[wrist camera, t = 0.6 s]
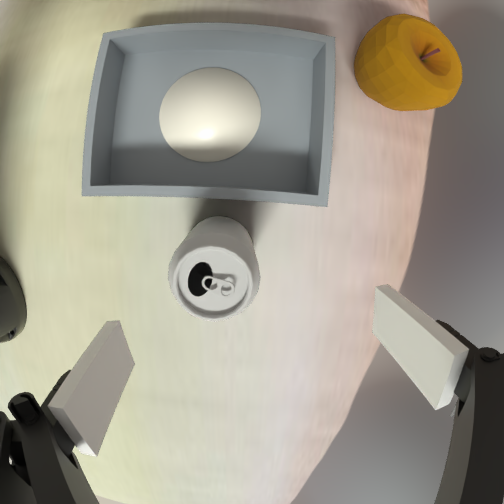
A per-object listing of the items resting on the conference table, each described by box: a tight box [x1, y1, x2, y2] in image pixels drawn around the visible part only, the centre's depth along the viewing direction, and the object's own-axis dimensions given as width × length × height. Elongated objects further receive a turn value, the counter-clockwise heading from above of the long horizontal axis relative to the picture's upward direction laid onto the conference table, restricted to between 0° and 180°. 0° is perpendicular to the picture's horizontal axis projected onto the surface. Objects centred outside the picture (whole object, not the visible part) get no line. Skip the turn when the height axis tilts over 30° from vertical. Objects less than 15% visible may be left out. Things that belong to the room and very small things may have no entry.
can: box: [168, 216, 260, 322], centre depth 27 cm, size 8×8×12 cm
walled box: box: [82, 23, 335, 207], centre depth 26 cm, size 24×18×6 cm
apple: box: [354, 14, 462, 111], centre depth 22 cm, size 11×11×13 cm
